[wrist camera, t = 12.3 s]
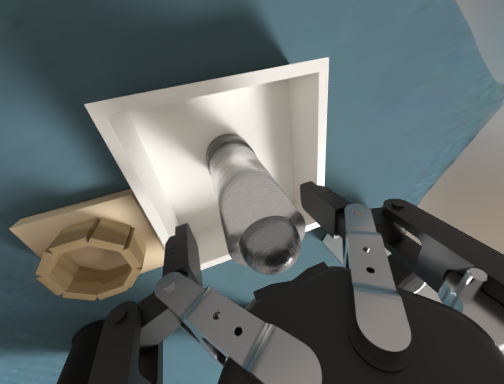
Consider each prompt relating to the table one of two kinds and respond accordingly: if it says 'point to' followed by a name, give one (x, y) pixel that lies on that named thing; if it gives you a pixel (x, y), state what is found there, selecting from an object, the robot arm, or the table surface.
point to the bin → (205, 131)
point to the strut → (253, 208)
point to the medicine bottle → (399, 271)
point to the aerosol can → (81, 355)
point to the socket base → (92, 246)
